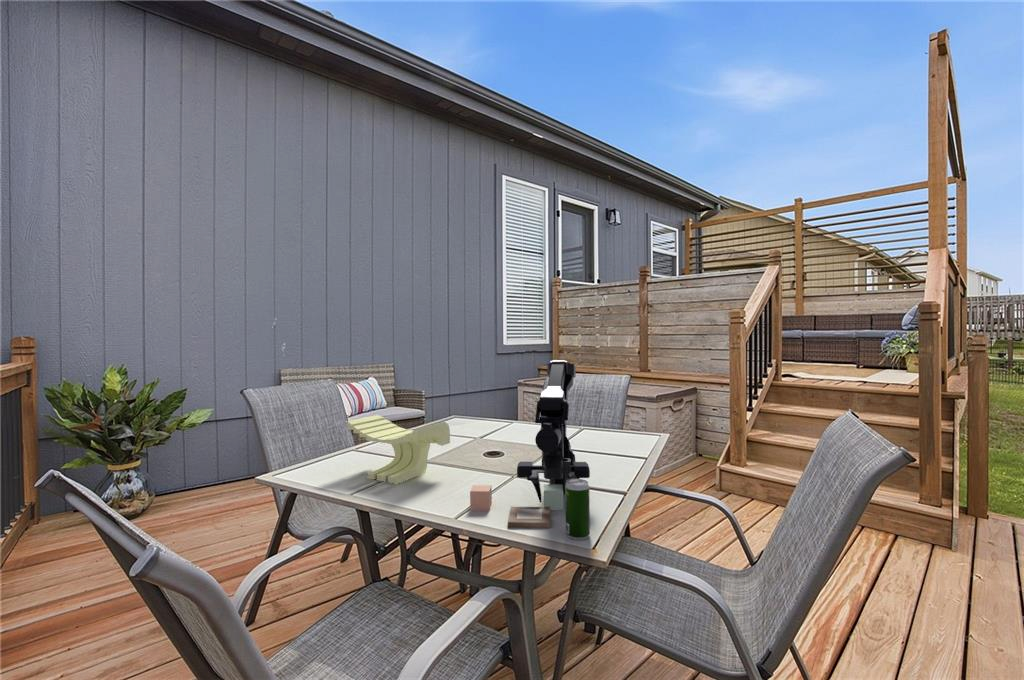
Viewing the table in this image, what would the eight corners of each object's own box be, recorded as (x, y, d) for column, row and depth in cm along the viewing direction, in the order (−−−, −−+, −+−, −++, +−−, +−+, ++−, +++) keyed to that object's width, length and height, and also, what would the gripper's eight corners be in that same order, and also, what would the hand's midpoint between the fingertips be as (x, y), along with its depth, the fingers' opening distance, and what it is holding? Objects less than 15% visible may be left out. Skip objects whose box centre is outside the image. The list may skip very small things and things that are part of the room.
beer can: (573, 542, 99) (573, 487, 99) (561, 533, 104) (560, 480, 104) (594, 538, 101) (594, 483, 101) (581, 529, 106) (581, 477, 106)
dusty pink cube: (473, 503, 124) (473, 485, 124) (491, 503, 123) (491, 485, 123) (470, 510, 119) (470, 491, 119) (489, 510, 118) (489, 491, 118)
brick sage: (543, 503, 123) (543, 484, 123) (562, 503, 123) (562, 484, 123) (543, 509, 118) (543, 490, 118) (563, 510, 118) (563, 490, 118)
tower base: (510, 511, 117) (510, 506, 117) (549, 511, 117) (549, 506, 117) (507, 527, 107) (507, 521, 107) (550, 527, 107) (550, 522, 107)
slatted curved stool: (450, 474, 150) (449, 420, 150) (417, 488, 137) (416, 428, 137) (383, 463, 165) (383, 413, 165) (348, 474, 152) (347, 420, 151)
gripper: (515, 450, 113) (516, 513, 113) (591, 450, 112) (592, 514, 112) (517, 440, 124) (518, 497, 124) (587, 440, 123) (587, 498, 123)
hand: (553, 502), depth 121 cm, fingers open, 6 cm apart
